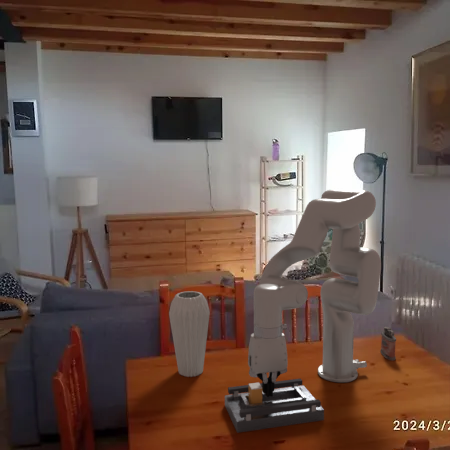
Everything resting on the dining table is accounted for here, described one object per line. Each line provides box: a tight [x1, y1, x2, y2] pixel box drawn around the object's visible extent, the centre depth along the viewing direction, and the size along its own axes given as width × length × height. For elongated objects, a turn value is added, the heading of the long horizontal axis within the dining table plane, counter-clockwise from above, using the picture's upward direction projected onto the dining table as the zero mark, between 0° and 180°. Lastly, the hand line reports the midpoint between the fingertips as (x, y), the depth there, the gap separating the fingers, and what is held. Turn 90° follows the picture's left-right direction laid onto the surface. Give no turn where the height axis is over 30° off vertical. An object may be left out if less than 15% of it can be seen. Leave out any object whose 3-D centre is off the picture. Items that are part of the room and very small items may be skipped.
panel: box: [224, 384, 325, 434], centre depth 128 cm, size 24×14×5 cm, turn 103°
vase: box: [168, 290, 211, 378], centre depth 153 cm, size 13×13×26 cm
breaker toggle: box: [247, 382, 262, 404], centre depth 127 cm, size 3×3×5 cm
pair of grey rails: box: [227, 378, 322, 421], centre depth 128 cm, size 22×14×2 cm, turn 103°
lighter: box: [380, 326, 397, 361], centre depth 165 cm, size 8×3×10 cm, turn 6°
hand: (268, 394), depth 128 cm, fingers closed
